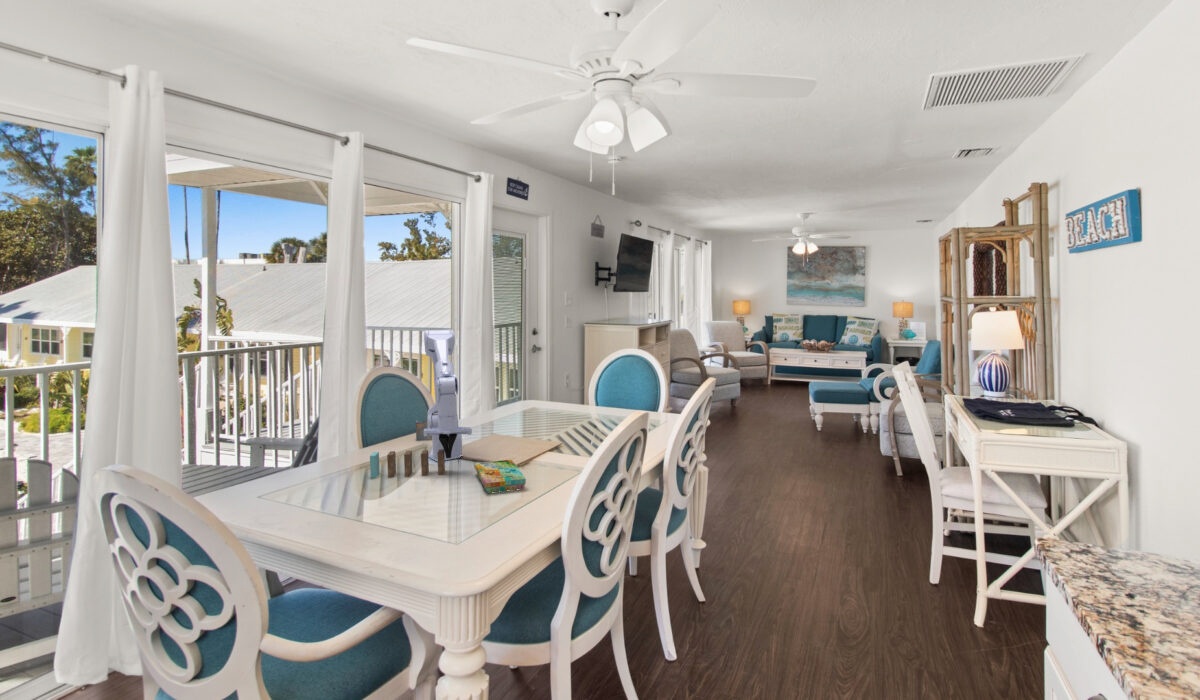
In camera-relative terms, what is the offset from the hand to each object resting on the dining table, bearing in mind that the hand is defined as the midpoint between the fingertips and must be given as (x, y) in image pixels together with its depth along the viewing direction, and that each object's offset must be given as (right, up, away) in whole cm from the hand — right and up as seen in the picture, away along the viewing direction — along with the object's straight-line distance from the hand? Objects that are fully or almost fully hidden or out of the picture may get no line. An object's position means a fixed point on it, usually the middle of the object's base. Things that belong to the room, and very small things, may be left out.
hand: (448, 457), depth 184 cm
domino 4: (-7, -5, -1) cm, 9 cm away
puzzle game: (+17, -6, -8) cm, 20 cm away
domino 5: (-2, -5, 0) cm, 5 cm away
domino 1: (-22, -5, -3) cm, 23 cm away
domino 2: (-17, -5, -2) cm, 18 cm away
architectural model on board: (-17, -1, +41) cm, 44 cm away
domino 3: (-12, -5, -1) cm, 13 cm away
